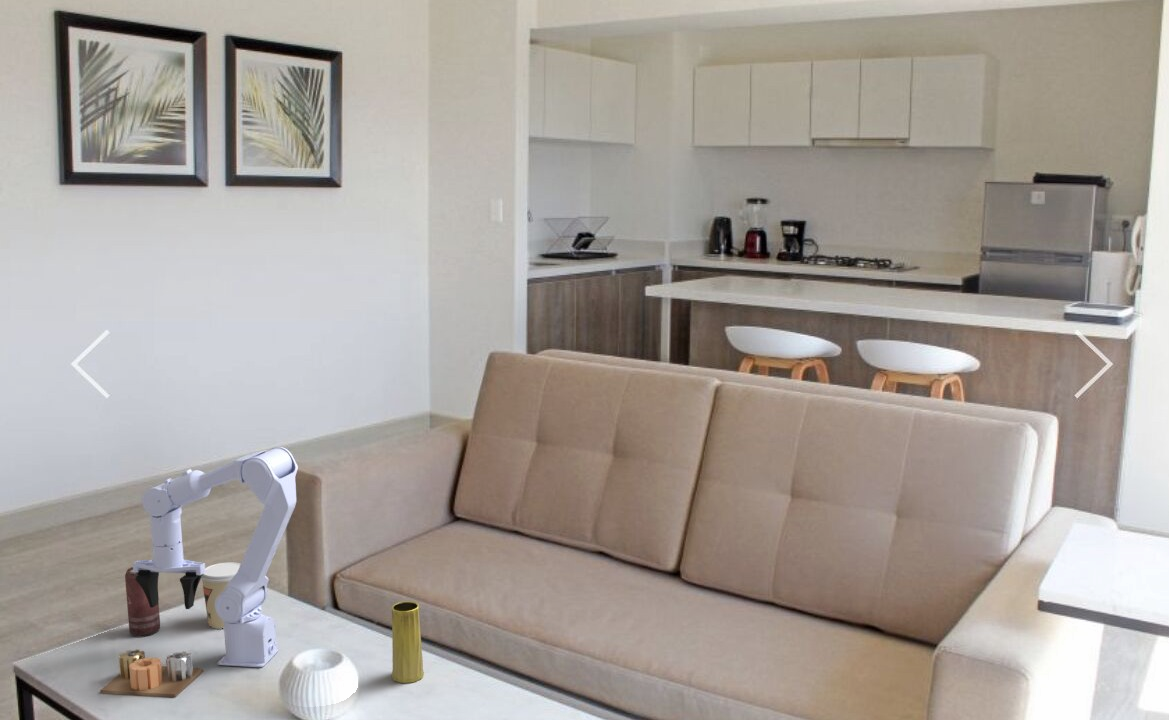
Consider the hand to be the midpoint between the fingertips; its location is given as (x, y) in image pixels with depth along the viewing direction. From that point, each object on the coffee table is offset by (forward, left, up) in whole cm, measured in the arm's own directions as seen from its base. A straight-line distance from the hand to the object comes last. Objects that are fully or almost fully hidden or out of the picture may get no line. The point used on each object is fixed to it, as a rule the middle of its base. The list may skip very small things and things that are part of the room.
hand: (171, 606), depth 219 cm
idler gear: (-3, +16, -9) cm, 18 cm away
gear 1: (+2, +13, -9) cm, 16 cm away
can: (+11, -8, -10) cm, 17 cm away
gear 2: (-8, +12, -9) cm, 17 cm away
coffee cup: (-4, -15, -10) cm, 18 cm away
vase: (-51, +6, -10) cm, 52 cm away
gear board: (-3, +14, -9) cm, 17 cm away
